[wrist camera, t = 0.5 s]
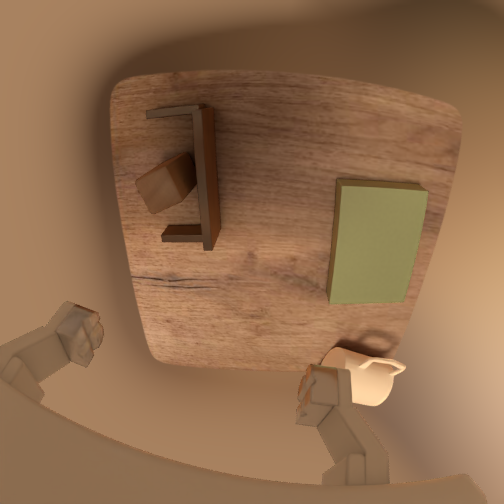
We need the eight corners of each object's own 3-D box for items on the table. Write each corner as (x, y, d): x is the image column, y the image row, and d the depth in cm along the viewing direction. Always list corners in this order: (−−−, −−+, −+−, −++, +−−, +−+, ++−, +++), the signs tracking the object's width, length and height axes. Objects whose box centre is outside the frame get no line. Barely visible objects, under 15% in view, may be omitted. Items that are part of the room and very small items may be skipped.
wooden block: (202, 180, 36) (183, 201, 29) (173, 192, 37) (150, 216, 30) (187, 150, 34) (165, 164, 27) (159, 164, 35) (132, 182, 28)
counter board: (336, 178, 35) (341, 185, 32) (418, 184, 34) (428, 191, 31) (326, 291, 42) (329, 304, 39) (397, 290, 41) (403, 302, 39)
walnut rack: (155, 109, 32) (134, 112, 27) (213, 103, 31) (201, 104, 26) (169, 232, 39) (153, 254, 34) (221, 231, 39) (213, 254, 34)
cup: (360, 327, 42) (407, 343, 43) (318, 358, 50) (363, 371, 51) (361, 378, 36) (411, 389, 37) (314, 402, 44) (362, 411, 46)
